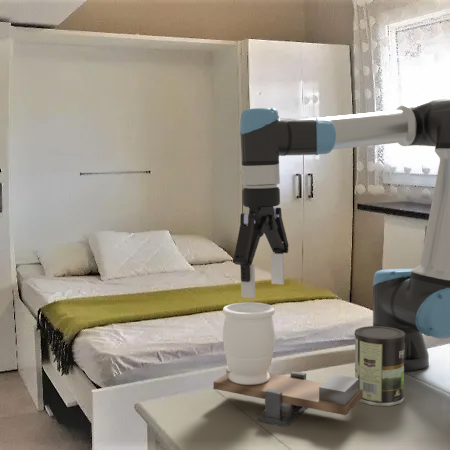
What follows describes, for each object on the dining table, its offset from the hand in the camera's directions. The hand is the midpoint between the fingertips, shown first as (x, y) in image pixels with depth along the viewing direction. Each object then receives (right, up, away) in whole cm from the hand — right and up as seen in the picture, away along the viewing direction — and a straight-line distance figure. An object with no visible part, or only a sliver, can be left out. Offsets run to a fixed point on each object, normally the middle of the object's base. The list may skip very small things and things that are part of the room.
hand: (263, 290), depth 132 cm
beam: (+4, -19, -3) cm, 20 cm away
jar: (-3, -18, +1) cm, 19 cm away
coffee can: (+24, -23, +4) cm, 34 cm away
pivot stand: (+4, -24, -3) cm, 24 cm away
